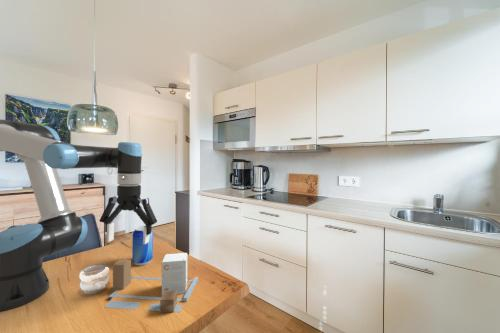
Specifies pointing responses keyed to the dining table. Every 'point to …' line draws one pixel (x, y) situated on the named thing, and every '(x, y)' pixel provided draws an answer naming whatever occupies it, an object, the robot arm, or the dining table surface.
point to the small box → (174, 273)
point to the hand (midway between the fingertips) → (128, 241)
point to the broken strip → (135, 304)
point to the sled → (124, 278)
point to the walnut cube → (168, 302)
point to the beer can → (141, 248)
